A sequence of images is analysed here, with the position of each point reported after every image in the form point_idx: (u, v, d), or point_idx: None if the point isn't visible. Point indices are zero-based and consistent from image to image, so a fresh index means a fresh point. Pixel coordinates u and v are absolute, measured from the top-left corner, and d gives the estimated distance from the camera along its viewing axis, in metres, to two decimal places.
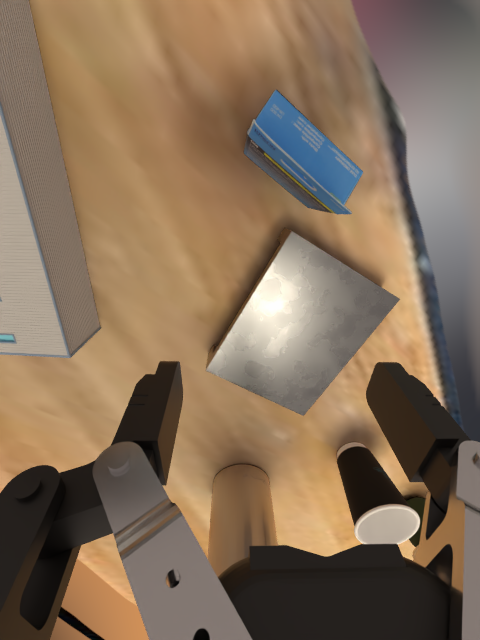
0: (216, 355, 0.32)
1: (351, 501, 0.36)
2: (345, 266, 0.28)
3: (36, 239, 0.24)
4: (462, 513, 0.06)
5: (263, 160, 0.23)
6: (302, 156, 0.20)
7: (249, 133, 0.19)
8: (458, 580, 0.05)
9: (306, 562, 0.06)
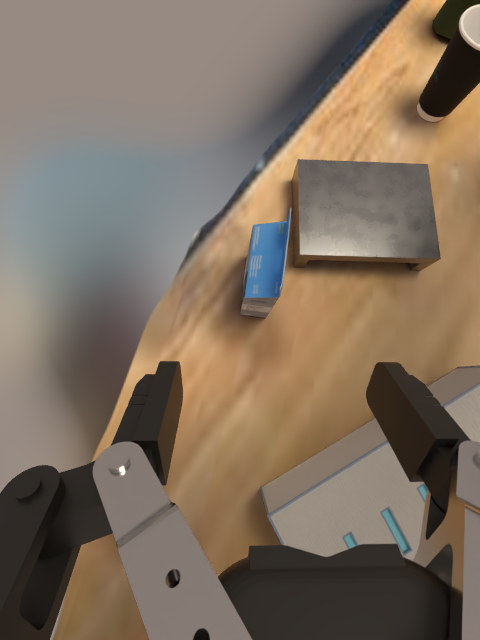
0: (421, 257, 0.36)
1: None
2: (299, 207, 0.37)
3: None
4: (462, 513, 0.06)
5: None
6: (269, 261, 0.30)
7: (280, 294, 0.28)
8: (458, 580, 0.05)
9: (306, 562, 0.06)
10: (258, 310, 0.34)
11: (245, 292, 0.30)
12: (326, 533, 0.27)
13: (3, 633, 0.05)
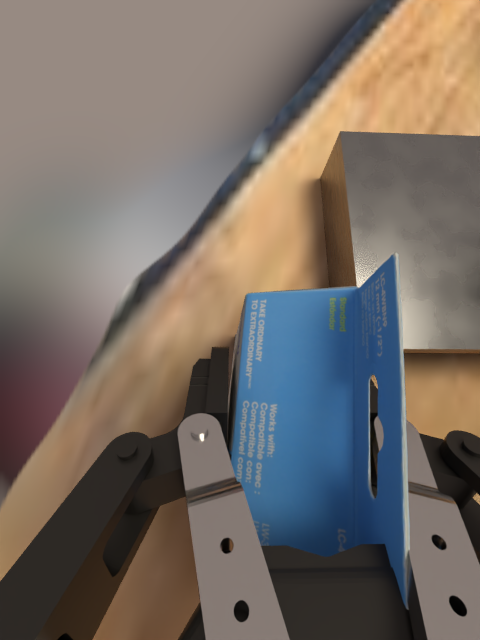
0: None
1: None
2: (353, 233, 0.16)
3: None
4: None
5: None
6: (306, 432, 0.08)
7: None
8: None
9: (306, 562, 0.06)
10: None
11: None
12: None
13: (88, 569, 0.06)
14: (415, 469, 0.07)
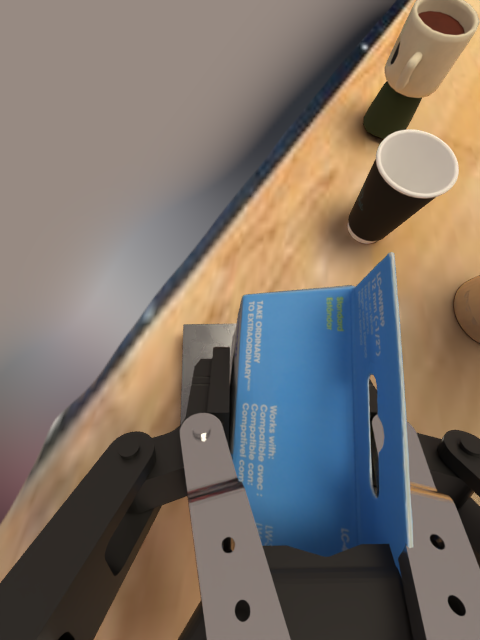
0: None
1: (416, 210, 0.29)
2: (182, 397, 0.27)
3: None
4: None
5: None
6: (307, 432, 0.08)
7: None
8: (406, 569, 0.05)
9: (306, 562, 0.06)
10: None
11: None
12: None
13: (90, 568, 0.06)
14: (412, 469, 0.07)
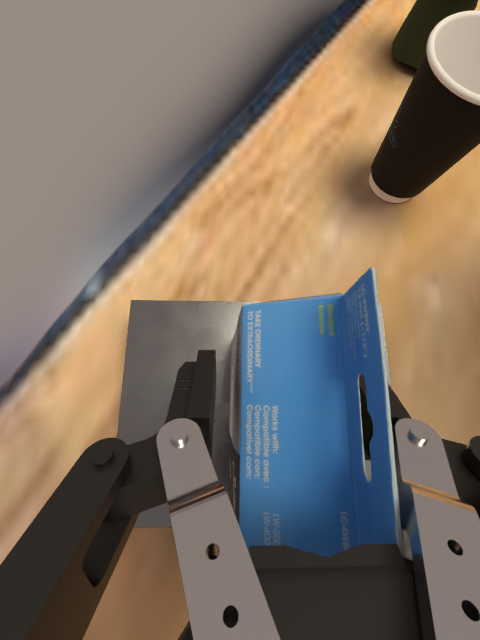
0: None
1: (479, 139, 0.19)
2: (122, 408, 0.18)
3: None
4: (411, 497, 0.06)
5: None
6: (306, 428, 0.09)
7: None
8: (420, 570, 0.05)
9: (306, 562, 0.06)
10: None
11: None
12: None
13: (67, 582, 0.05)
14: (440, 476, 0.07)
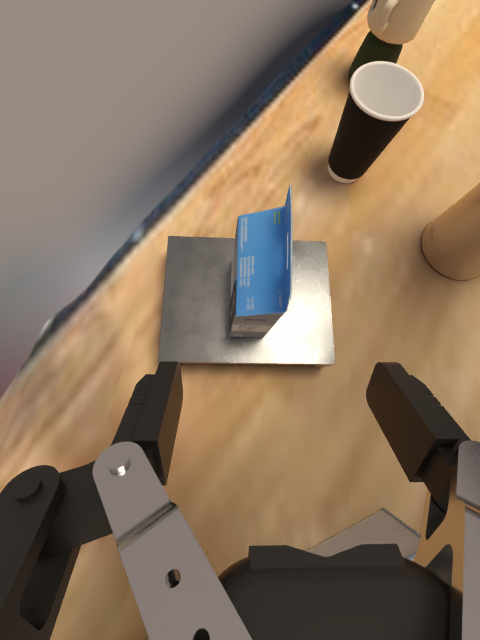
0: (312, 362, 0.29)
1: (386, 138, 0.31)
2: (164, 298, 0.30)
3: None
4: (462, 513, 0.06)
5: None
6: (266, 262, 0.21)
7: (287, 308, 0.19)
8: (458, 580, 0.05)
9: (306, 562, 0.06)
10: (254, 330, 0.25)
11: (236, 309, 0.21)
12: None
13: (3, 633, 0.05)
14: None
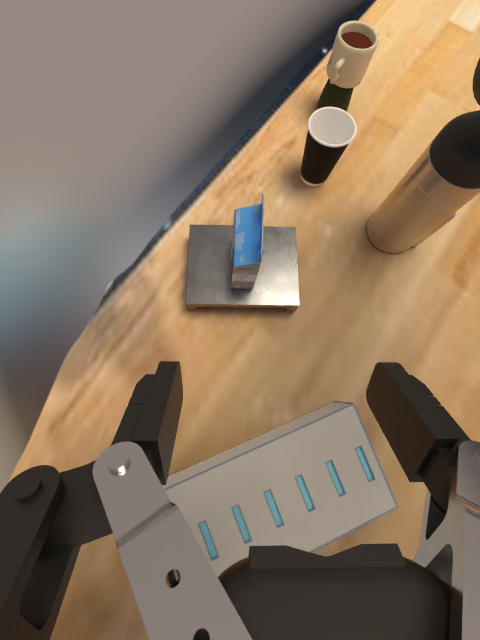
0: (284, 304, 0.45)
1: (334, 157, 0.47)
2: (188, 264, 0.46)
3: (277, 438, 0.37)
4: (461, 513, 0.06)
5: None
6: (251, 235, 0.37)
7: (261, 259, 0.35)
8: (458, 580, 0.05)
9: (306, 562, 0.06)
10: (246, 280, 0.41)
11: (234, 262, 0.37)
12: (185, 519, 0.35)
13: (3, 633, 0.05)
14: None
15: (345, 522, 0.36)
